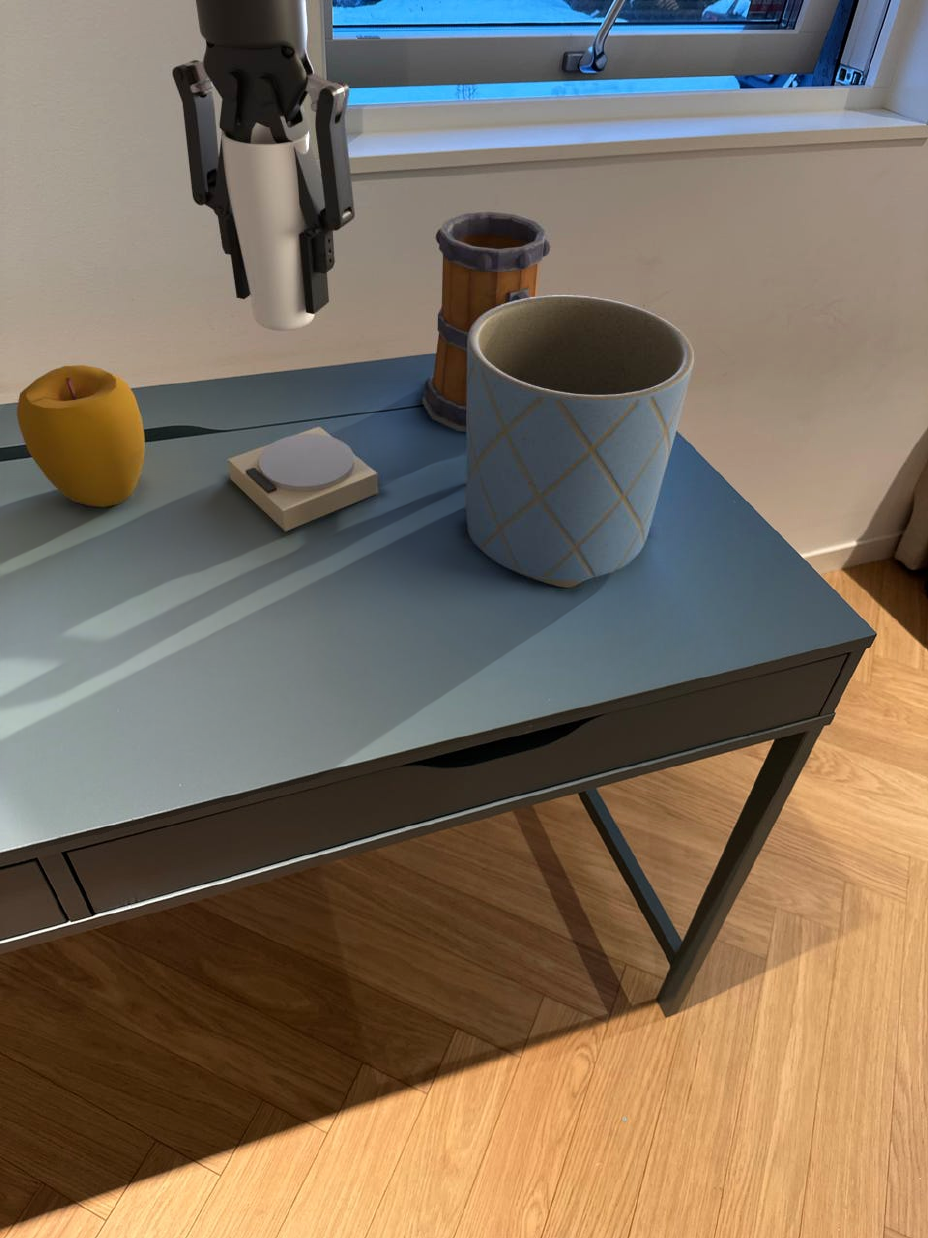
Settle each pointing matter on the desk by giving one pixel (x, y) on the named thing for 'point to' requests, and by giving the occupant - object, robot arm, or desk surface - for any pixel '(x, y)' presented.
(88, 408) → the apple
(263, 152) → the drinking glass
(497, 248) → the mug
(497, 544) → the planter
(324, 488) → the scale
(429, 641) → the desk surface
